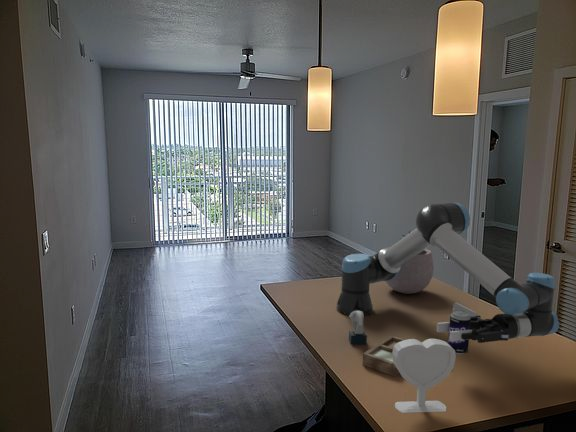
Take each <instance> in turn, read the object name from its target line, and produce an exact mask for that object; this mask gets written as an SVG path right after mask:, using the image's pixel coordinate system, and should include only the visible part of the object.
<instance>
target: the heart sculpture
mask: <svg viewBox="0 0 576 432" xmlns="http://www.w3.org/2000/svg"><path fill="white" fill-rule="evenodd" d="M392 355H393V363H394V364H395V366H396V368H397V369H398V371H399V373H400V376H401V377H402V378H403V379H404V380H406V381H407V382H408V383H409V385H410V384H411V385H412V386H414V387H415V388H416V400H415V401H396V402H395V403H394V407H395V409H396V410H398V411H399V412H400V413H402V414H403V413H404V414H409V413H434V412H435V413H441V412H443V413H444V412H447V406H446V405H445V404H444V403H443V402H441V401H439V400H426V398H427V397H426V395H427V391H428V390H430V389H431V388H433V387H434V386H436V385H438V384H440V383H441V382H442V381H443V380H445V379H446V378H447V377H448V376H449V375H450V373H451V372H452V370H453V369H454V367H455V363H456V357H457V356H456V355H457V354H455V350H454V349H453V348H452V347H451V346H450V345H449V344H448V341H444V340H442V339H438V338H428V339H425V340H424V341H420V340H418V339H416V338H409V339H405V340H403V341H401V342H398V343H397V344H395V345H394V347H393V352H392Z"/></svg>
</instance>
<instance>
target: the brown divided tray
mask: <svg viewBox="0 0 576 432" xmlns="http://www.w3.org/2000/svg"><path fill="white" fill-rule="evenodd" d="M403 340H406V339H405V338H401V337H397V336H395V335H390V336H387V338H385V339H384V340H383V341H381V342H378V343H377V344H376V345H374V346H372V347H371V348H369V349H367V350H366V351H365V352H363V353H362V365H363V366H365V367H368V368H371V369H374V370H376V371H379V372H382V373H384V374H387V375H390V376H393V377H396V375H398V374H399V373H400V372H399V371H398V369H397V368H396V366H395V364H394V363H393V355H392V352H393V347H394V345H395V344H397V343H398V342H401V341H403Z"/></svg>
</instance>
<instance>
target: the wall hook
mask: <svg viewBox="0 0 576 432" xmlns="http://www.w3.org/2000/svg"><path fill="white" fill-rule="evenodd" d="M455 310H460V311H465V312H467V313H469V314H470V317H474V316H478V313H477V312H476V311H474V309H473V310H472V309H470V308H468V307H466V306H465V305H463V304H460V303H458V302H455V303H454V304H453V306H452V311H455ZM471 333H472V330H471Z"/></svg>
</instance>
